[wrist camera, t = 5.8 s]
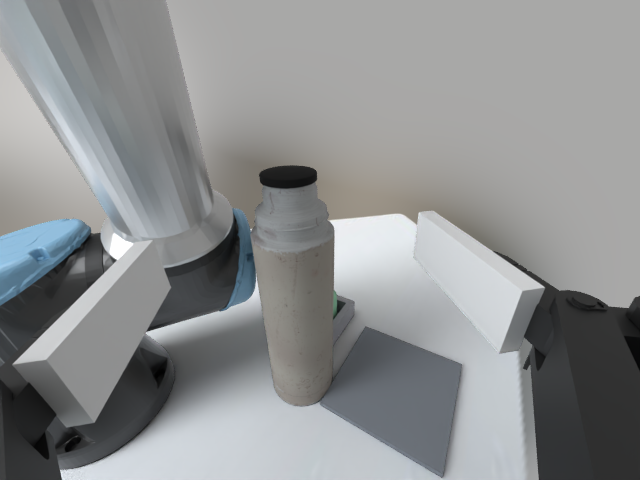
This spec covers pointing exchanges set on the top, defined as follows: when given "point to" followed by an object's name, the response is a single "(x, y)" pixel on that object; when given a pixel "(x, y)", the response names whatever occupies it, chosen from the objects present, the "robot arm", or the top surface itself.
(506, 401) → the top surface
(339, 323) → the button housing
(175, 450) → the top surface
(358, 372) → the pad
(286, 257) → the thermos bottle
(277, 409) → the top surface
